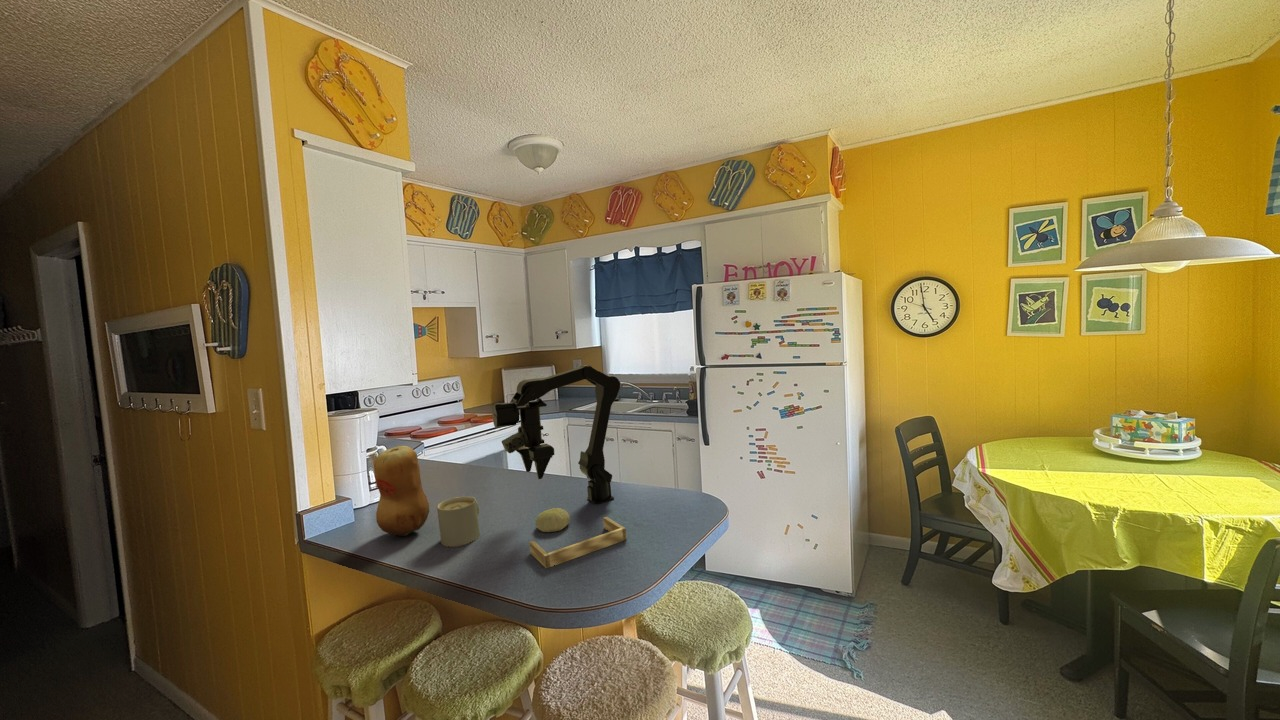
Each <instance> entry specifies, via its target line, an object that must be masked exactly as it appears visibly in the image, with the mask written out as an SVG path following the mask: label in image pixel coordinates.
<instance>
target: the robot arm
mask: <svg viewBox="0 0 1280 720" xmlns="http://www.w3.org/2000/svg"><path fill="white" fill-rule="evenodd" d="M583 380H586V381H587V382H589V383H590V384H592V385H594V386H595V389H594V392H595V398H596V404H595V405H596V406H595V410H594V414H593V415H594V416H593V420H592V427H591V431H590V437H589V440H588V441H589V442H588V446H587V449H586V450H585V451H580V455H579V457H580V458H579V460H578V462H577V464H578V465H579V469H580V472H581V473H582V474H584V475H585V477H586V478H587V479H589V480H588V481H587V485H588V486H587V489H586V490H587V491H586V492H587V498H586V499H587V500H588V501H590V502H592V503H593V504H596V505H597V504H598V505H599V504H601V503H604V502H608V501H611V500H614V499H615V496H612V487H611V486H612V485H611V482H612V479H613V474H612V473H610V471H608V470H606V469H605V468H606V467H605V466H606V465H605V464H606V459H605V456H604V455H605V454H604V446H605V440H606V436H607V431H608V425H609V420H610V415H611V411H612V405H613V404H614V402H615V401H616V399H617V398H618V395H619V393H620V389H621V382H620V380H619V378H617V377H616V376H614V375H608V374H606V373H603V372H601V371H599V370H597V369H596V368H594V367H592V366H591V365H587V364H582V365H580V366H578V367H576V368H573V369H572V368H571V369H569V370H565V371H562V372H559V373H556V374H552V375H549V376H546V377H539V378H537V377H536V378H529V379H523V380H521V381H519V382H518V384H517V386H516V392H515V393H514V395H513V397H512V398H511V399H510V402H505V403H501V402H500V403H499V402H497V403H493V410H492V411H493V413H492V422H493V426H494V428H495V429H496V428H505V427H512V426H516V425H517V423H519V421H520V426H518V427H517V432H516V433H514V434H512V435H510V436H508V437H506V438H504V439H502V440H501V444H502V447H503V449H504V450H505V452H507V453H508V454H513V453H514V452H517V453H518V454H519V455H520V457H521V459H522V462H523V465H524V469H525V470H526V472H527V473H530V472H531V471H532V466H533V462H534V466H535V471H536V475H537V479H538V480H541V479H543V477H544V474H545V473H546V469H547V467H548V465H549V463H550V461H551V459H552V458H553V456H555V447H553V446H552V445H550V444H548V443H545V439H543V438H542V431H543V430H544V426H543V425H542V424H541V423H542V421H541V409H540V408H543V407H544V408H545V407H547V403H546V402H544V401H543V400H542V397H544V396H545V395H547V394H548V393H549V392H551V391H552V390H556V389H559V388H562V387H564V386H569V385H571V384H574V383H578V382H581V381H583Z"/></svg>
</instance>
